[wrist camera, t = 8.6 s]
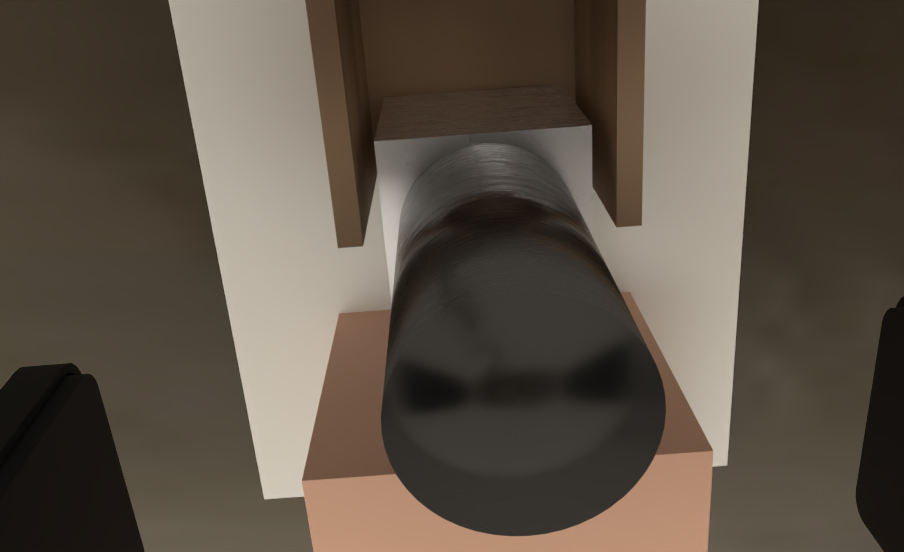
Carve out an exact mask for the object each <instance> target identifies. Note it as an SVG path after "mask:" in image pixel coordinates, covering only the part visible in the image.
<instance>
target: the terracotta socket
mask: <svg viewBox="0 0 904 552" xmlns="http://www.w3.org/2000/svg"><path fill="white" fill-rule="evenodd" d="M621 295H622V297H623V299H624V301H625V303H626V305H627V307H628V309H629V311H630V313H631V315H632V317H633V319H634V321H635V323H636V325H637V327H638V329H639V331H640V333H641V335H642V337H643V339H644V341H645V343H646V345H647V347H648V349H649V351H650V353H651V355H652V357H653V359H654V361H655V363H656V365H657V368H658V370H659V373H660V376H661V379H662V382H663V387H664V392H665V400H666V417H665V426H664V431H663V435H662V438H661V442H660V445H659V447H658V450H657V452H656V454H655V457H654V459H653V461H652V462H651V464H650V466H649V467H648V469H647V471H646V472H645V474H644V475H643V476H642V478H641V479H640V480H639V481H638V483H637V484H636V485H635V486H634V487H633V488H632V489H631V490H630V491H629V492H628V493H627V494H626V495H625V496H624V497H623V498H622V499H620V500H619V501H618V502H617V503H615V504H614V505H613V506H612V507H610V508H609V509H607V510H605V511H604V512H602V513H601V514H599V515H597V516H596V517H594V518H592V519H589V520H587V521H585V522H583V523H581V524H579V525H576V526H573V527H570V528H567V529H564V530H560V531H556V532H552V533H547V534H541V535H533V536H501V535H492V534H487V533H482V532H477V531H474V530H470V529H467V528H464V527H461V526H458V525H456V524H454V523H452V522H449V521H447V520H445V519H443V518H442V517H440V516H438V515H437V514H435V513H433V512H432V511H430V510H429V509H428V508H426V507H425V506H424V505H423V504H421V503H420V502H419V501H418V500H417V499H416V498H415V497H414V496H413V495H412V494H411V493H410V492H409V491H408V490H407V489H406V488H405V486H404V485H403V484H402V482H401V481H400V480H399V478H398V477H397V475H396V473H395V471H394V470H393V468H392V466H391V464H390V462H389V459H388V456H387V453H386V451H385V448H384V443H383V438H382V432H381V410H382V399H383V389H384V378H385V368H386V358H387V347H388V337H389V326H390V316H391V310H379V311H365V312H352V313H339V316H338V320H337V325H336V329H335V334H334V338H333V343H332V347H331V352H330V356H329V361H328V365H327V370H326V374H325V379H324V383H323V388H322V392H321V397H320V401H319V406H318V410H317V415H316V419H315V424H314V428H313V432H312V437H311V441H310V446H309V450H308V455H307V459H306V464H305V468H304V473H303V477H302V486H303V492H304V498H305V504H306V509H307V515H308V521H309V527H310V533H311V539H312V545H313V551H314V552H707V549H708V533H709V516H710V499H711V483H712V466H713V449H712V447H711V445H710V444H709V442H708V440H707V438H706V436H705V434H704V432H703V430H702V428H701V426H700V424H699V423H698V421H697V419H696V417H695V415H694V413H693V411H692V409H691V407H690V405H689V403H688V402H687V400H686V398H685V396H684V394H683V392H682V390H681V388H680V386H679V384H678V382H677V381H676V379H675V377H674V375H673V373H672V371H671V369H670V367H669V365H668V363H667V361H666V360H665V358H664V356H663V354H662V352H661V350H660V348H659V346H658V344H657V342H656V340H655V339H654V337H653V335H652V333H651V331H650V329H649V327H648V325H647V323H646V321H645V319H644V318H643V316H642V314H641V312H640V310H639V308H638V306H637V304H636V302H635V300H634V298H633V297H632V295H631V293H630V292H622V293H621Z"/></svg>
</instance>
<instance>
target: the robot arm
mask: <svg viewBox="0 0 904 552" xmlns="http://www.w3.org/2000/svg"><path fill="white" fill-rule="evenodd" d="M856 503H857V507H858V511H859V514H860V517H861V519H862V521H863V522H864V524H865V525H866V527H867V528H868V530H869V531H870V532H871V534H872V535H873V537H874V538H875V539H876V541H877V542H878V544H879V545H880V547H881V548H882V549H883V551H884V552H904V297H902V298H901V299H900V301H899V302H898V304H897V306H896V308H890V309H889V310H887V311H886V313H885V315H884V317H883V321H882V326H881V333H880V339H879V346H878V352H877V358H876V365H875V371H874V378H873V384H872V391H871V397H870V403H869V410H868V416H867V423H866V429H865V435H864V442H863V448H862V455H861V461H860V467H859V474H858V480H857V487H856ZM0 552H144V547H143V544H142V540H141V537H140V533H139V530H138V526H137V522H136V519H135V515H134V512H133V508H132V505H131V501H130V498H129V494H128V490H127V487H126V483H125V480H124V476H123V473H122V469H121V466H120V462H119V458H118V455H117V451H116V448H115V444H114V441H113V437H112V433H111V430H110V426H109V423H108V419H107V416H106V412H105V409H104V405H103V401H102V398H101V394H100V391H99V387H98V384H97V382H96V380H95V378H94V377H93V376H92V375H90V374H81V372H80V370H79V369H78V368H77V366H75V365H74V364H72V363H68V364H55V365H43V366H31V367H21V368H19V369H18V370H17V371H16V372H15V373H14V374H13V375H12V376H11V378H10V379H9V380H8V381H7V382H6V384H5V385H4V386H3V387H2V389H1V390H0Z"/></svg>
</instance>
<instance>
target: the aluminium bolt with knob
mask: <svg viewBox="0 0 904 552" xmlns="http://www.w3.org/2000/svg"><path fill="white" fill-rule="evenodd" d="M374 147H375V156H376V165H377V174H378V184H379V193H380V202H381V211H382V220H383V230H384V239H385V248H386V257H387V267H388V276H389V285H390V294H391V304H392V305H391V316H390V326H389V337H388V347H387V358H386V368H385V378H384V389H383V399H382V410H381V432H382V438H383V443H384V448H385V451H386V453H387V456H388V459H389V462H390V464H391V466H392V468H393V470H394V471H395V473H396V475H397V477H398V478H399V480H400V481H401V482H402V484H403V485H404V486H405V488H406V489H407V490H408V491H409V492H410V493H411V494H412V495H413V496H414V497H415V498H416V499H417V500H418V501H419V502H420V503H421V504H423V505H424V506H425V507H426V508H428V509H429V510H430V511H432V512H433V513H435V514H437V515H438V516H440V517H442V518H443V519H445V520H447V521H449V522H452V523H454V524H456V525H458V526H461V527H464V528H467V529H470V530H474V531H477V532H482V533H487V534H492V535H501V536H533V535H541V534H547V533H552V532H556V531H560V530H564V529H567V528H570V527H573V526H576V525H579V524H581V523H583V522H585V521H587V520H589V519H592V518H594V517H596V516H597V515H599V514H601V513H602V512H604V511H605V510H607V509H609V508H610V507H612V506H613V505H614V504H615V503H617V502H618V501H619V500H620V499H622V498H623V497H624V496H625V495H626V494H627V493H628V492H629V491H630V490H631V489H632V488H633V487H634V486H635V485H636V484H637V483H638V481H639V480H640V479H641V478H642V476H643V475H644V474H645V472H646V471H647V469H648V467H649V466H650V464H651V462H652V461H653V459H654V457H655V454H656V452H657V450H658V447H659V445H660V442H661V438H662V435H663V431H664V426H665V417H666V400H665V392H664V387H663V382H662V379H661V376H660V373H659V370H658V368H657V365H656V363H655V361H654V359H653V357H652V355H651V353H650V351H649V349H648V347H647V345H646V343H645V341H644V339H643V337H642V335H641V333H640V331H639V329H638V327H637V325H636V323H635V321H634V319H633V317H632V315H631V313H630V311H629V309H628V307H627V305H626V303H625V301H624V299H623V297H622V295H621V293H620V291H619V289H618V287H617V285H616V283H615V281H614V279H613V277H612V275H611V273H610V271H609V269H608V267H607V265H606V263H605V261H604V259H603V257H602V255H601V253H600V251H599V249H598V247H597V245H596V243H595V241H594V239H593V202H592V124H591V123H590V122H589V120H588V119H587V118H586V116H585V115H584V114H583V113H582V111H581V110H580V109H579V107H578V106H577V105H576V103H575V102H574V101H573V99H572V98H571V97H570V95H569V94H568V93H567V91H566V90H565V89H564V87H563V86H562V85H561V84H556V85H543V86H529V87H516V88H503V89H489V90H476V91H463V92H450V93H436V94H423V95H410V96H397V97H384V101H383V106H382V110H381V114H380V118H379V122H378V127H377V131H376V135H375V139H374Z"/></svg>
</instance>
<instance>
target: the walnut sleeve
mask: <svg viewBox="0 0 904 552" xmlns="http://www.w3.org/2000/svg"><path fill="white" fill-rule="evenodd" d="M305 3H306V10H307V18H308V26H309V33H310V41H311V48H312V56H313V64H314V71H315V79H316V86H317V94H318V101H319V109H320V117H321V124H322V132H323V139H324V147H325V155H326V162H327V170H328V177H329V185H330V192H331V200H332V208H333V215H334V223H335V230H336V238H337V245H338V248H348V247H361V246H363V245H364V239H365V234H366V229H367V224H368V219H369V214H370V209H371V204H372V199H373V194H374V188H375V183H376V178H377V165H376V156H375V147H374V139H375V135H376V131H377V127H378V122H379V118H380V114H381V110H382V106H383V101H384V97H397V96H410V95H423V94H436V93H450V92H463V91H476V90H489V89H503V88H516V87H529V86H543V85H556V84H561V85H562V86H563V87H564V89H565V90H566V91H567V93H568V94H569V95H570V97H571V98H572V99H573V101H574V102H575V103H576V105H577V106H578V107H579V109H580V110H581V111H582V113H583V114H584V115H585V116H586V118H587V119H588V120H589V122H590V123H591V124H592V187H593V188H594V190H595V192H596V193H597V195H598V197H599V199H600V200H601V202H602V204H603V205H604V207H605V209H606V211H607V212H608V214H609V216H610V217H611V219H612V221H613V222H614V224H615V226H616V227H630V226H642V190H643V135H644V80H645V26H646V0H305Z"/></svg>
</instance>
